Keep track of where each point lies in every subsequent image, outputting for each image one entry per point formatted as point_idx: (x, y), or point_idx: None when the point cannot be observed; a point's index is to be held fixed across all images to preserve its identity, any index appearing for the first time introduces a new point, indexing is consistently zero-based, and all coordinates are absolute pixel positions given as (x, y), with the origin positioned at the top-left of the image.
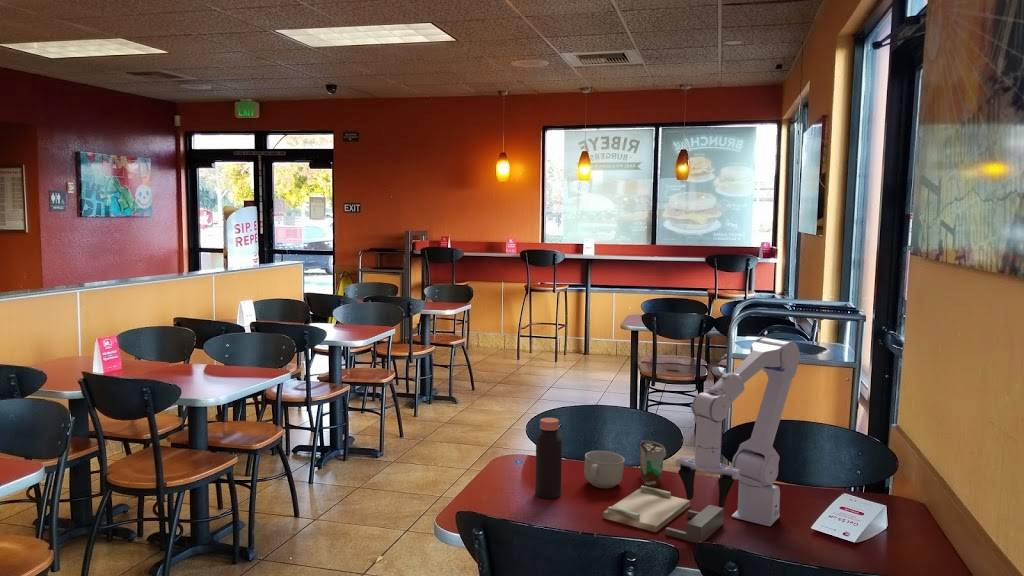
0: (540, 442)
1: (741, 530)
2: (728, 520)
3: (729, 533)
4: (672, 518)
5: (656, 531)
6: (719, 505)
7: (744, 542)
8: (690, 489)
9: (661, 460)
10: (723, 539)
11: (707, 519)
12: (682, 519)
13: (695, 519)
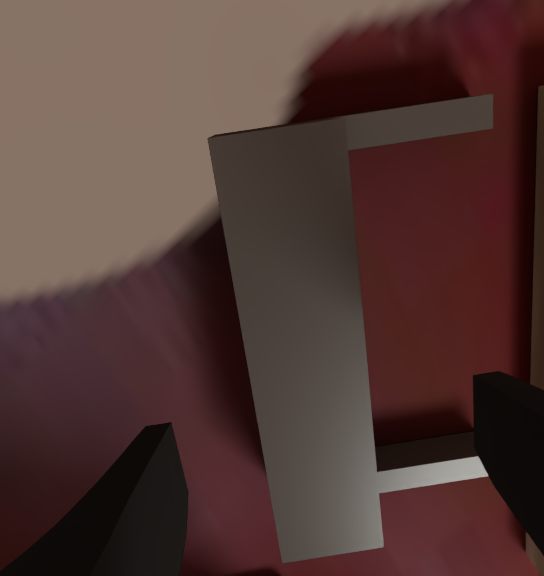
0: None
1: None
2: (278, 542)
3: (181, 408)
4: (536, 343)
5: (541, 90)
6: (159, 431)
7: (47, 363)
8: (536, 459)
9: None
10: (157, 312)
11: (257, 319)
12: None
13: (327, 250)
